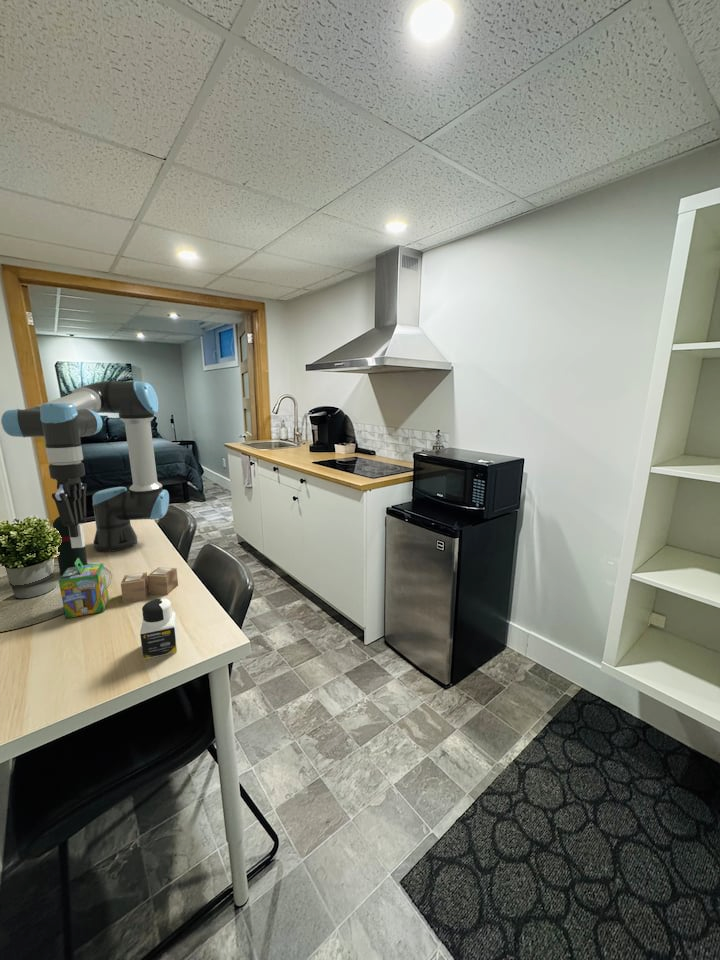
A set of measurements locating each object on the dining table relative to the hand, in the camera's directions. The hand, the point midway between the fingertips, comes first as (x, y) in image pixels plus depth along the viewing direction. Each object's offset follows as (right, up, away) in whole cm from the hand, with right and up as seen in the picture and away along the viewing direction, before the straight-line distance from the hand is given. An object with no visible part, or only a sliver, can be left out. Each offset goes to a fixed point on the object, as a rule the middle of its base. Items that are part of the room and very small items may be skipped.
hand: (78, 546), depth 108 cm
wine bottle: (-21, -13, +27) cm, 37 cm away
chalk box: (0, -19, +4) cm, 19 cm away
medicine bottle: (+30, -22, -13) cm, 39 cm away
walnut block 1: (+10, -17, +11) cm, 22 cm away
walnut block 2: (+16, -16, +15) cm, 27 cm away
